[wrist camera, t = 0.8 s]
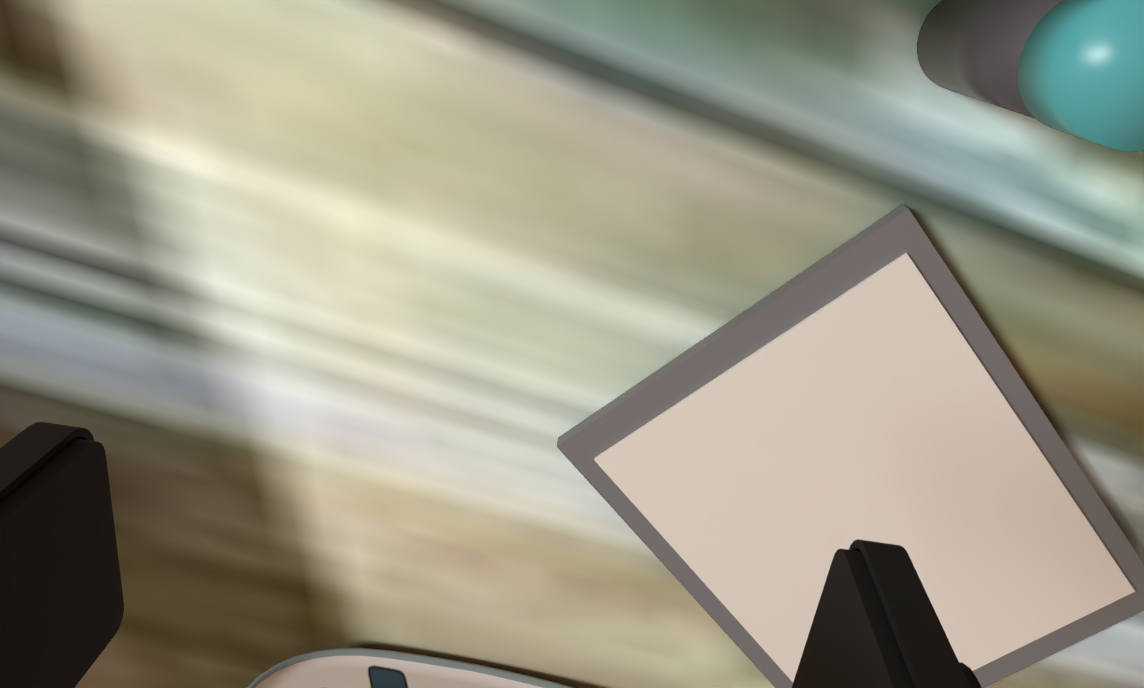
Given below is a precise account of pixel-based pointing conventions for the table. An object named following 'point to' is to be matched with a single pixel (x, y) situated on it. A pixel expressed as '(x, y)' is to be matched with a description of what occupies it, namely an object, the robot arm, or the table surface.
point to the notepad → (862, 466)
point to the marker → (1045, 62)
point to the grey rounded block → (388, 672)
